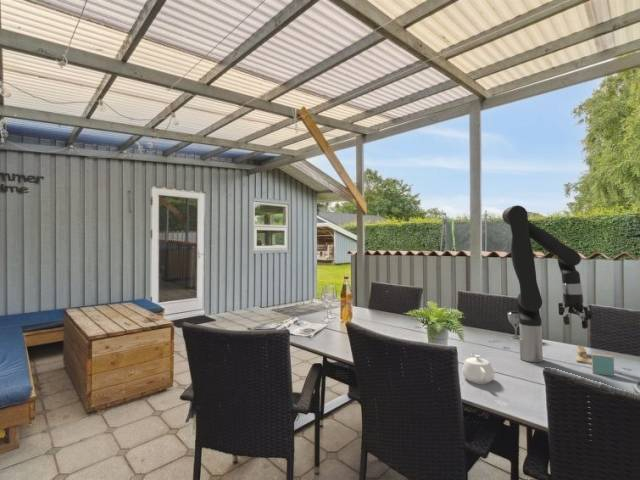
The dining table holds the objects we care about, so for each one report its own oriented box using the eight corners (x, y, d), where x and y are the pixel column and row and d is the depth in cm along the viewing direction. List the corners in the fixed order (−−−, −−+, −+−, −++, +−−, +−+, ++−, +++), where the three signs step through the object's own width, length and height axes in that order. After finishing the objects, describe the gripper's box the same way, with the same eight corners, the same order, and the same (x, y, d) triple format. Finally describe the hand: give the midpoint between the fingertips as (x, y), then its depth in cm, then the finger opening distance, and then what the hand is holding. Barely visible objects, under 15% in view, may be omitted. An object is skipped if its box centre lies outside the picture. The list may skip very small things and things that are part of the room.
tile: (593, 373, 144) (592, 354, 144) (592, 371, 146) (591, 353, 146) (614, 376, 140) (613, 357, 140) (613, 374, 142) (612, 355, 142)
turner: (576, 362, 157) (576, 354, 157) (573, 352, 171) (573, 345, 171) (593, 364, 154) (592, 356, 154) (588, 354, 167) (588, 346, 167)
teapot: (456, 369, 152) (456, 347, 152) (485, 370, 150) (485, 348, 150) (468, 388, 132) (467, 363, 132) (502, 390, 130) (501, 364, 130)
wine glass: (525, 337, 198) (524, 311, 199) (522, 340, 193) (521, 314, 193) (510, 334, 204) (509, 310, 204) (506, 337, 198) (506, 312, 198)
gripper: (552, 291, 165) (555, 324, 164) (581, 295, 151) (585, 331, 151) (564, 290, 167) (567, 322, 166) (593, 293, 153) (597, 328, 152)
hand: (575, 326), depth 158 cm, fingers open, 8 cm apart
